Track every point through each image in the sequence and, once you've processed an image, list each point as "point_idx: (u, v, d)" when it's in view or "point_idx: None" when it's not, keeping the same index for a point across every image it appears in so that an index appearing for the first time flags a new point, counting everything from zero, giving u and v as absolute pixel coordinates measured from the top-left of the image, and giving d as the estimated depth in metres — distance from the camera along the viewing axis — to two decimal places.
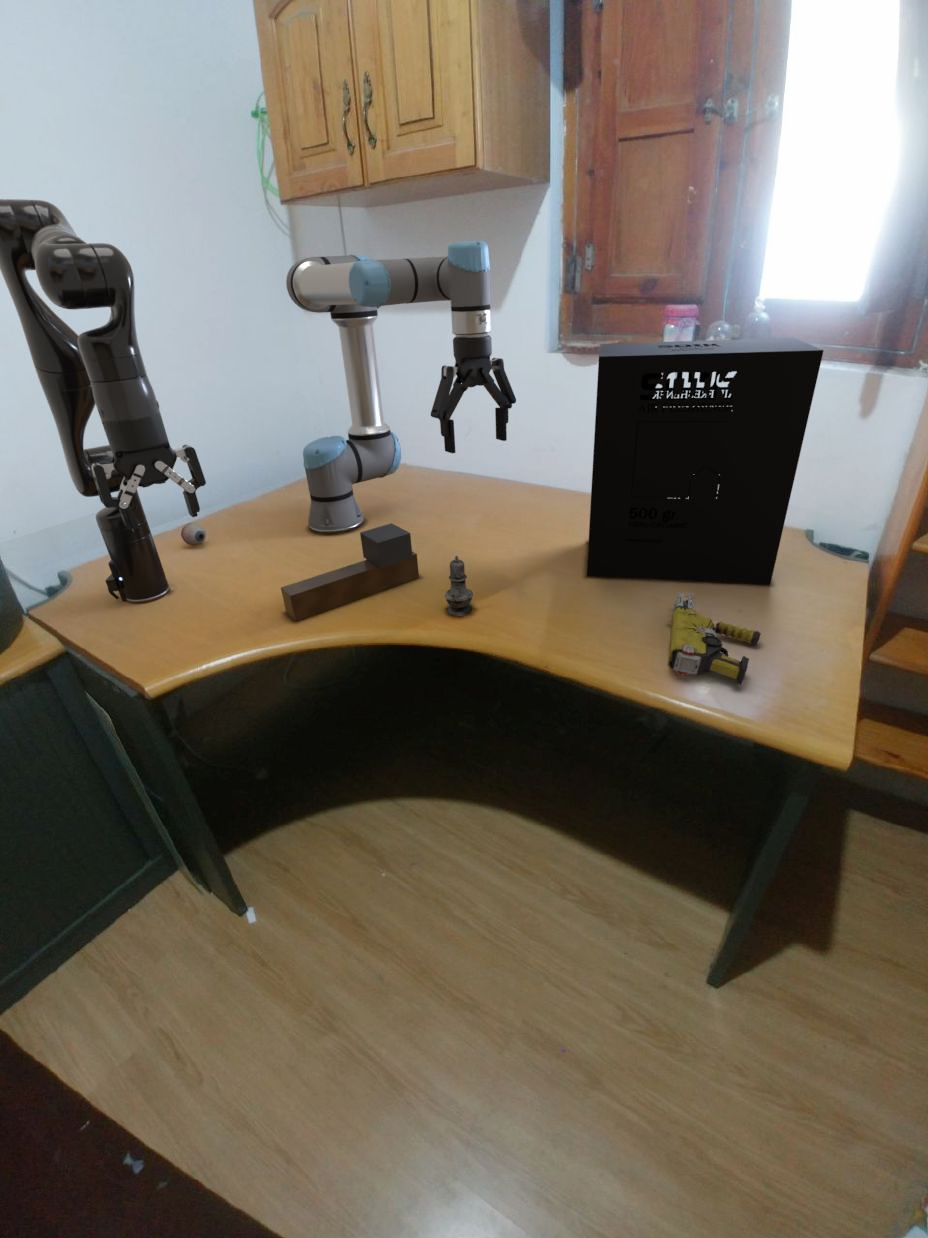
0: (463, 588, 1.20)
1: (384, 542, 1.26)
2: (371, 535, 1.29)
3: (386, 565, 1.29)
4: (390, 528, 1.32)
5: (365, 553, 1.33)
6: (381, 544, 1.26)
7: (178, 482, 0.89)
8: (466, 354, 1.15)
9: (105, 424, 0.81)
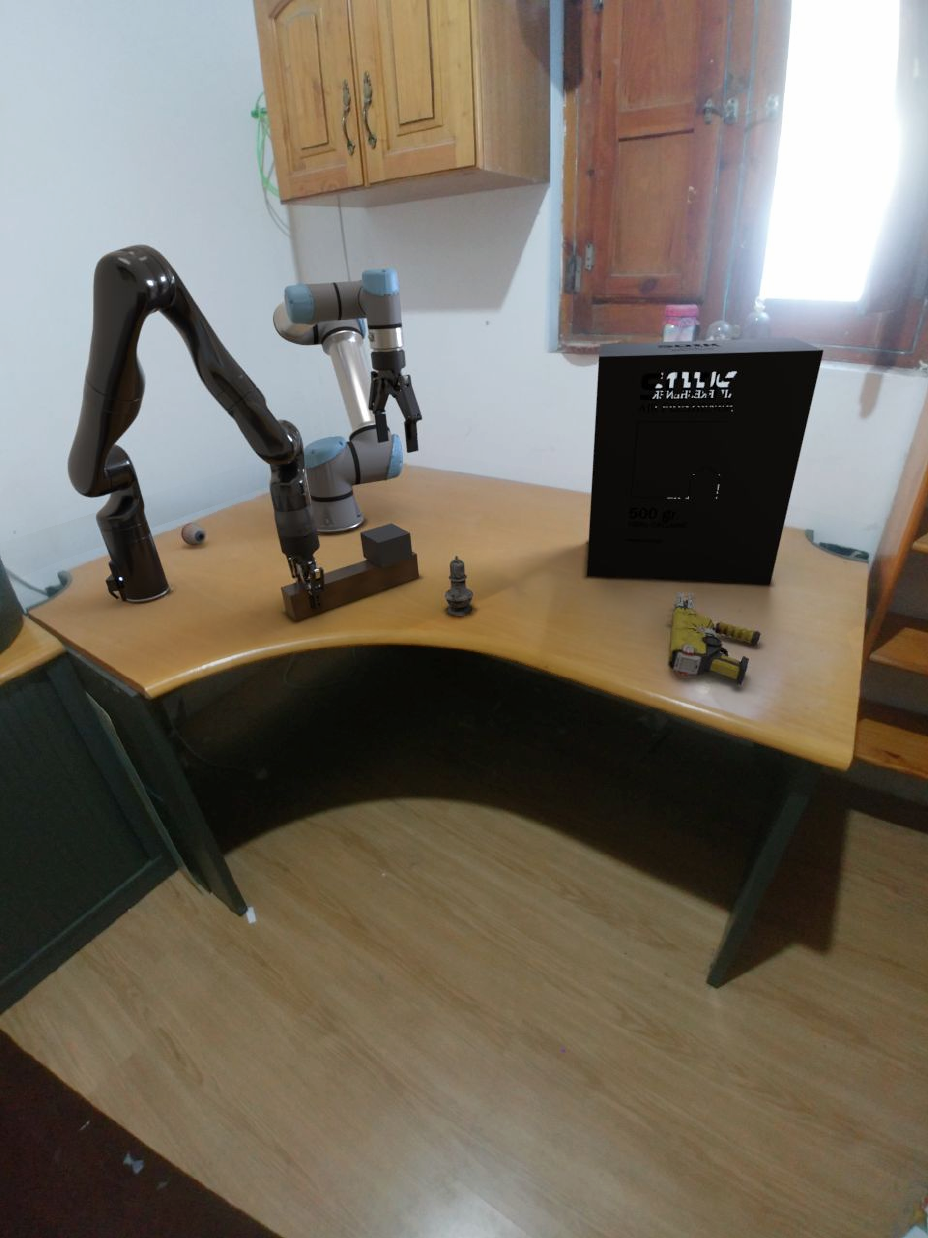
0: (463, 588, 1.20)
1: (384, 542, 1.26)
2: (371, 535, 1.29)
3: (386, 565, 1.29)
4: (390, 528, 1.32)
5: (365, 553, 1.33)
6: (381, 544, 1.26)
7: None
8: None
9: (310, 535, 1.16)
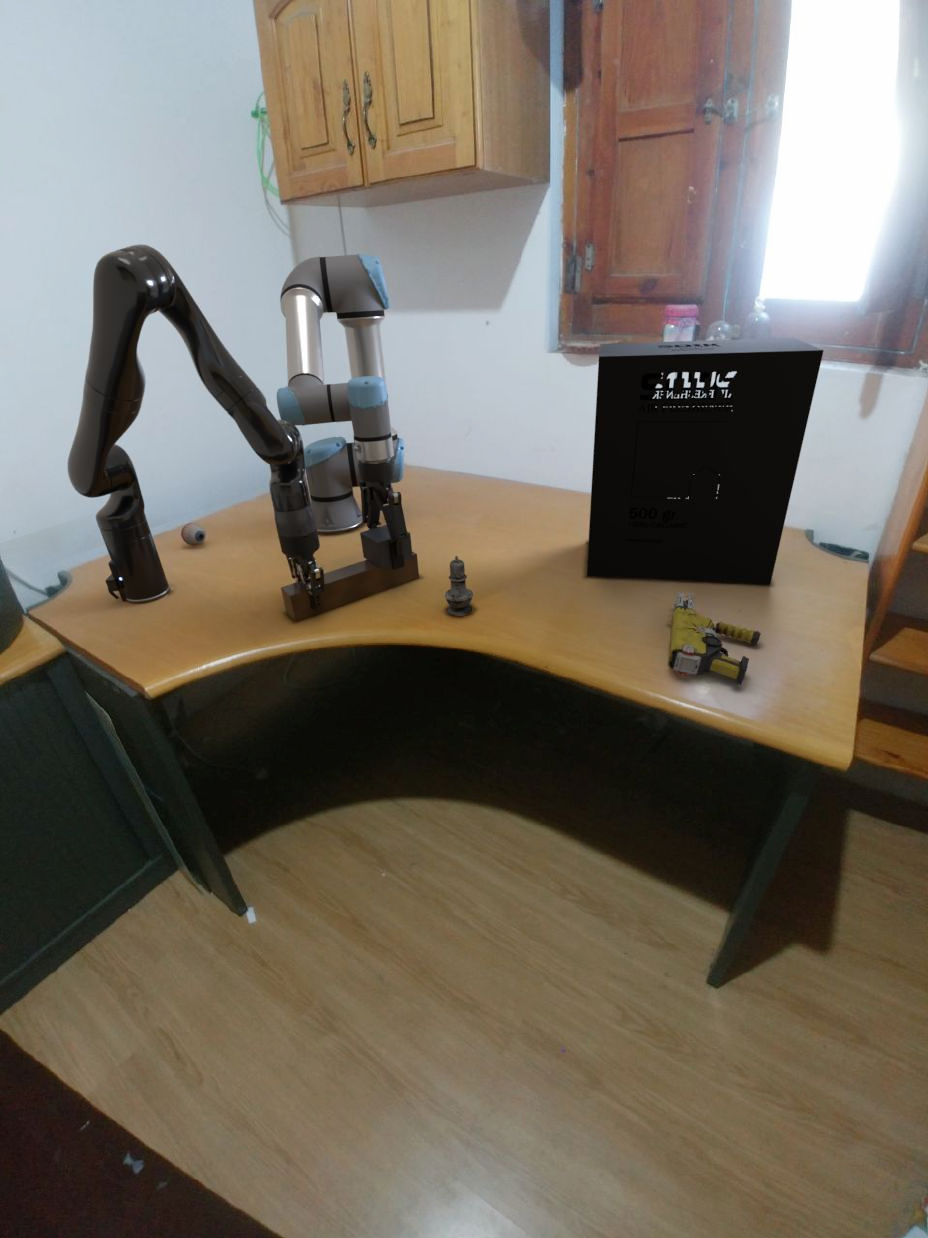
0: (463, 588, 1.20)
1: (384, 542, 1.26)
2: (371, 535, 1.29)
3: (386, 565, 1.29)
4: None
5: (365, 553, 1.33)
6: (381, 544, 1.26)
7: None
8: None
9: (310, 535, 1.16)
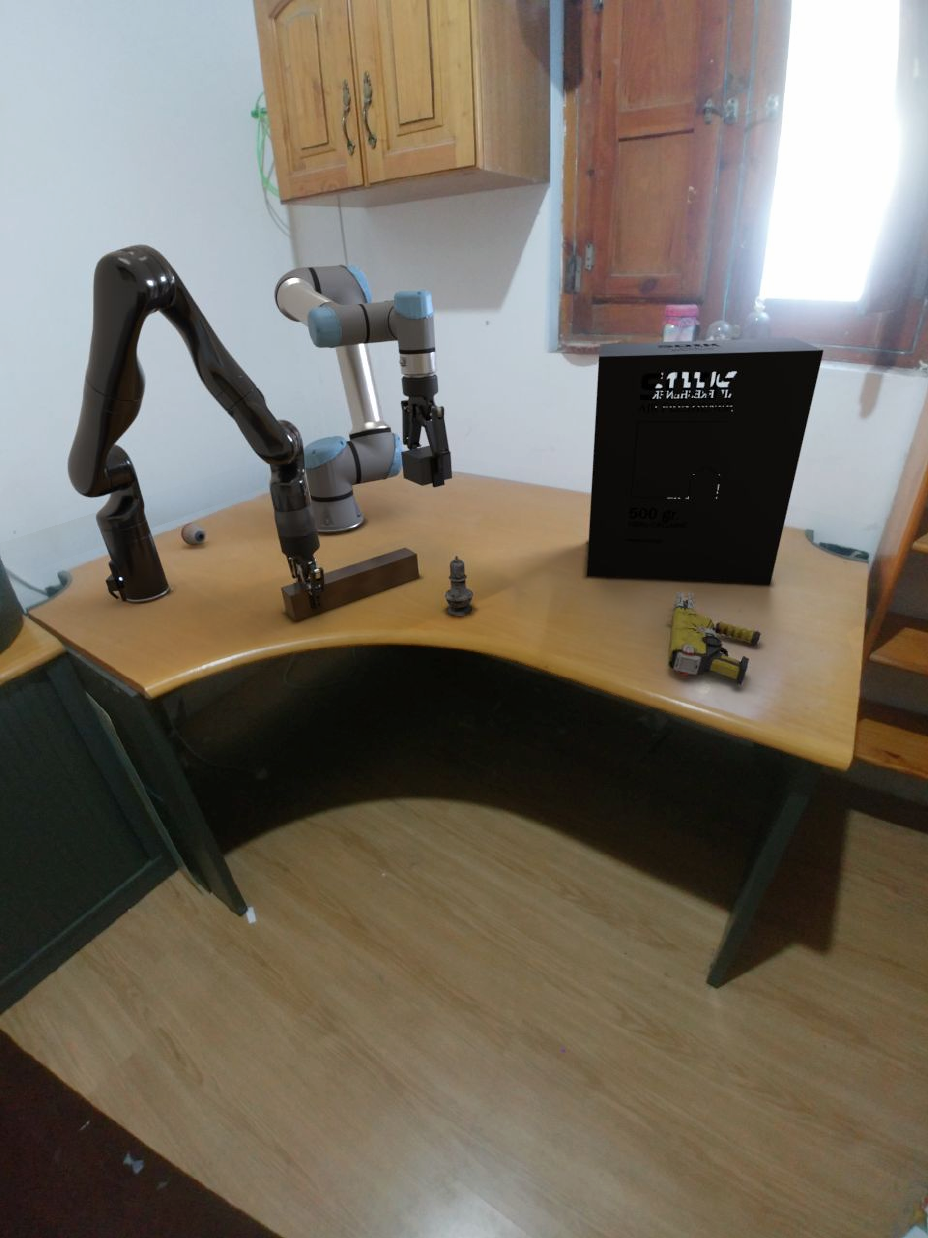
0: (463, 588, 1.20)
1: (425, 458, 1.29)
2: (412, 453, 1.32)
3: (427, 482, 1.32)
4: (430, 448, 1.35)
5: (405, 473, 1.36)
6: (423, 460, 1.29)
7: None
8: None
9: (310, 535, 1.16)
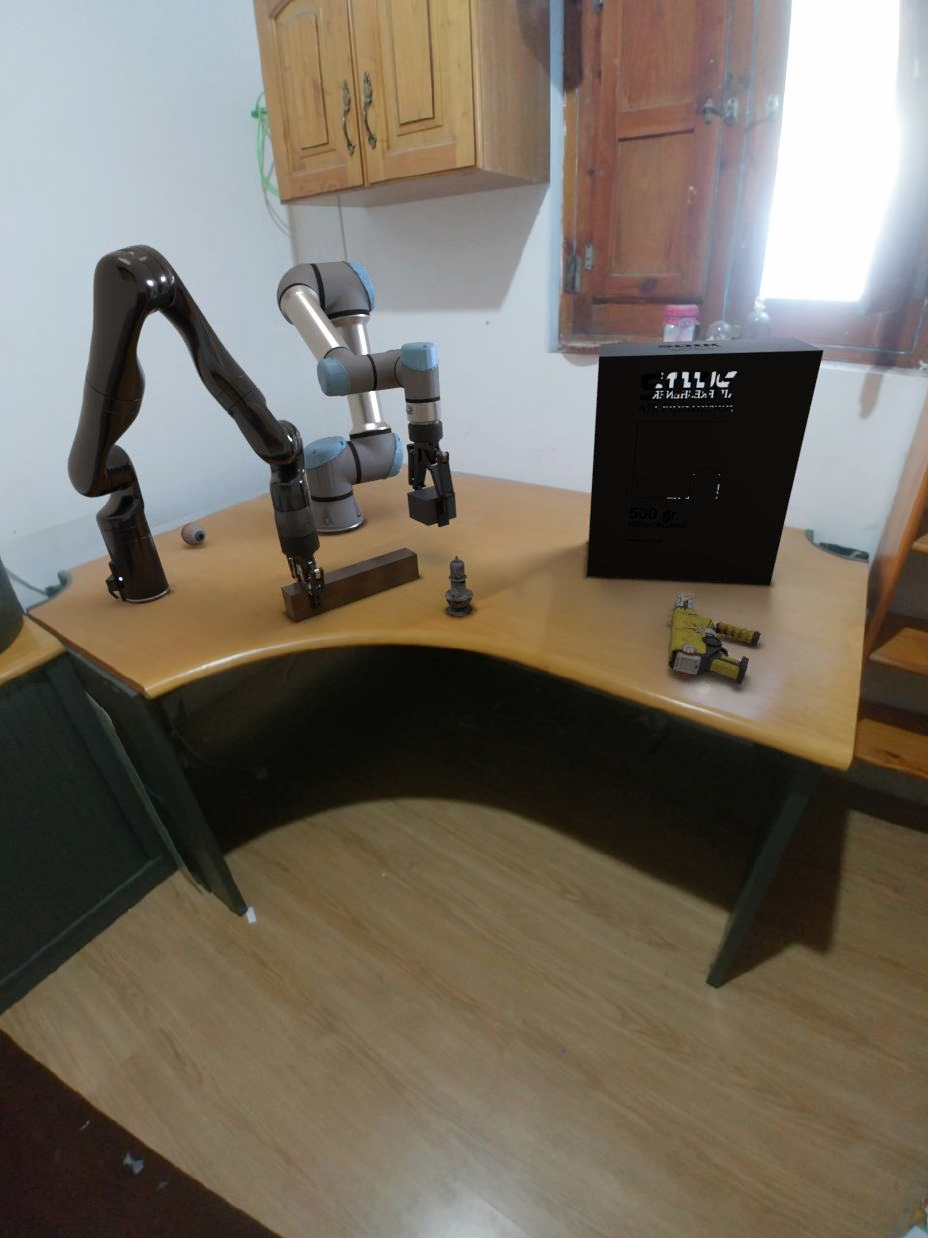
0: (463, 588, 1.20)
1: (431, 500, 1.34)
2: (418, 495, 1.37)
3: (432, 523, 1.37)
4: None
5: (411, 513, 1.40)
6: (428, 502, 1.34)
7: None
8: None
9: (310, 535, 1.16)
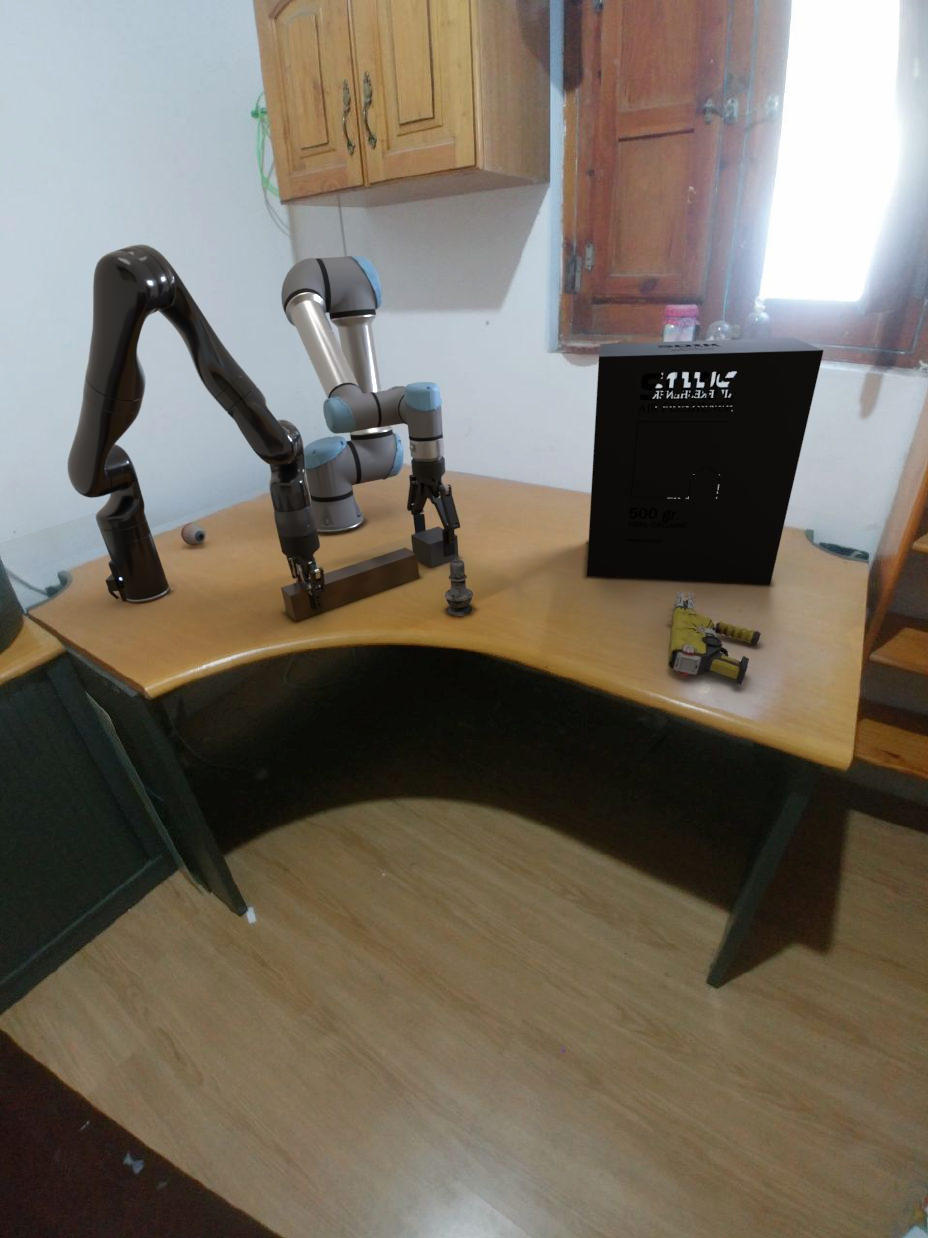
0: (463, 588, 1.20)
1: (434, 543, 1.40)
2: (421, 537, 1.42)
3: (436, 564, 1.42)
4: (438, 531, 1.46)
5: None
6: (432, 545, 1.39)
7: None
8: None
9: (310, 535, 1.16)
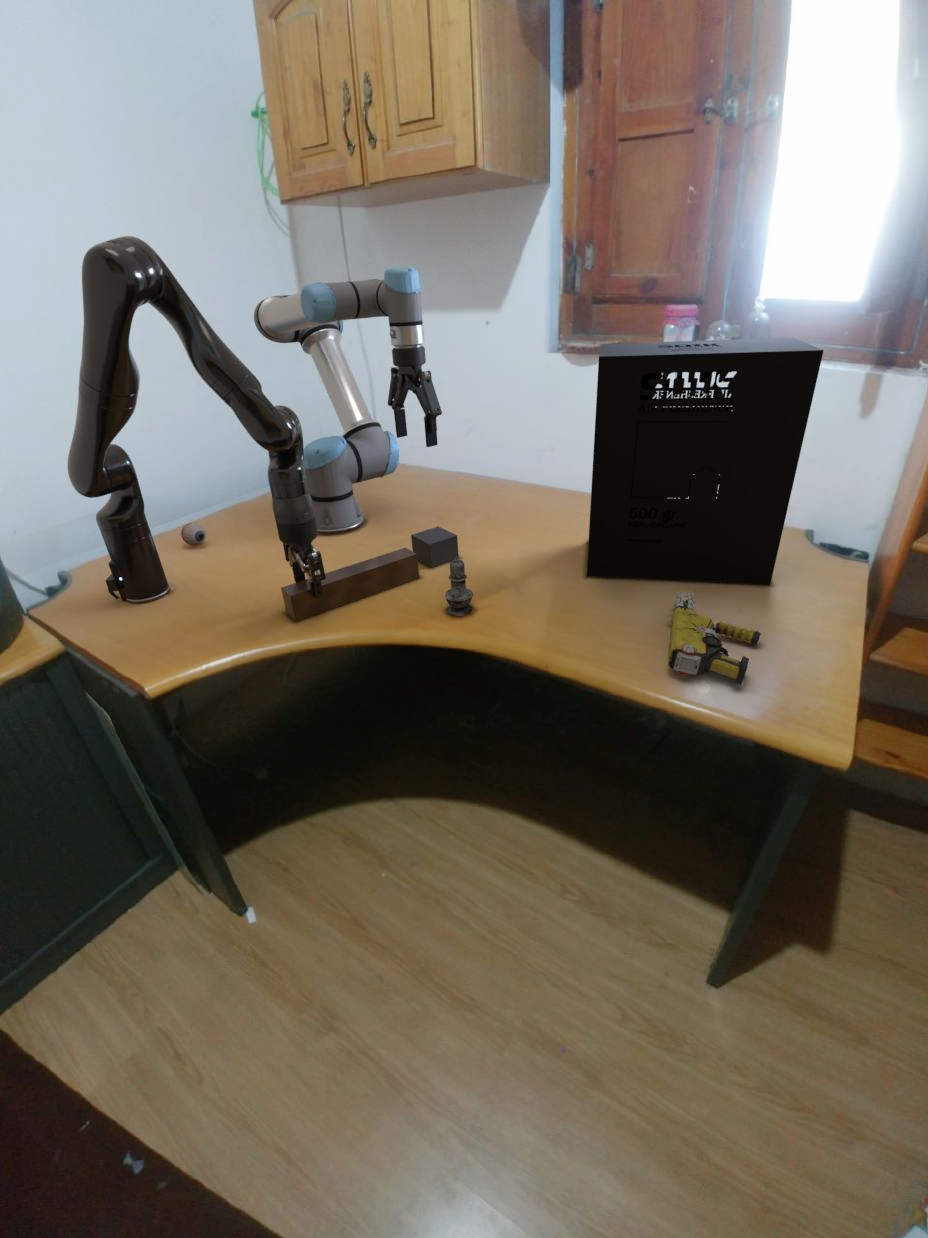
0: (463, 588, 1.20)
1: (434, 543, 1.40)
2: (421, 537, 1.42)
3: (436, 564, 1.42)
4: (438, 531, 1.46)
5: None
6: (432, 545, 1.39)
7: None
8: None
9: (308, 523, 1.15)
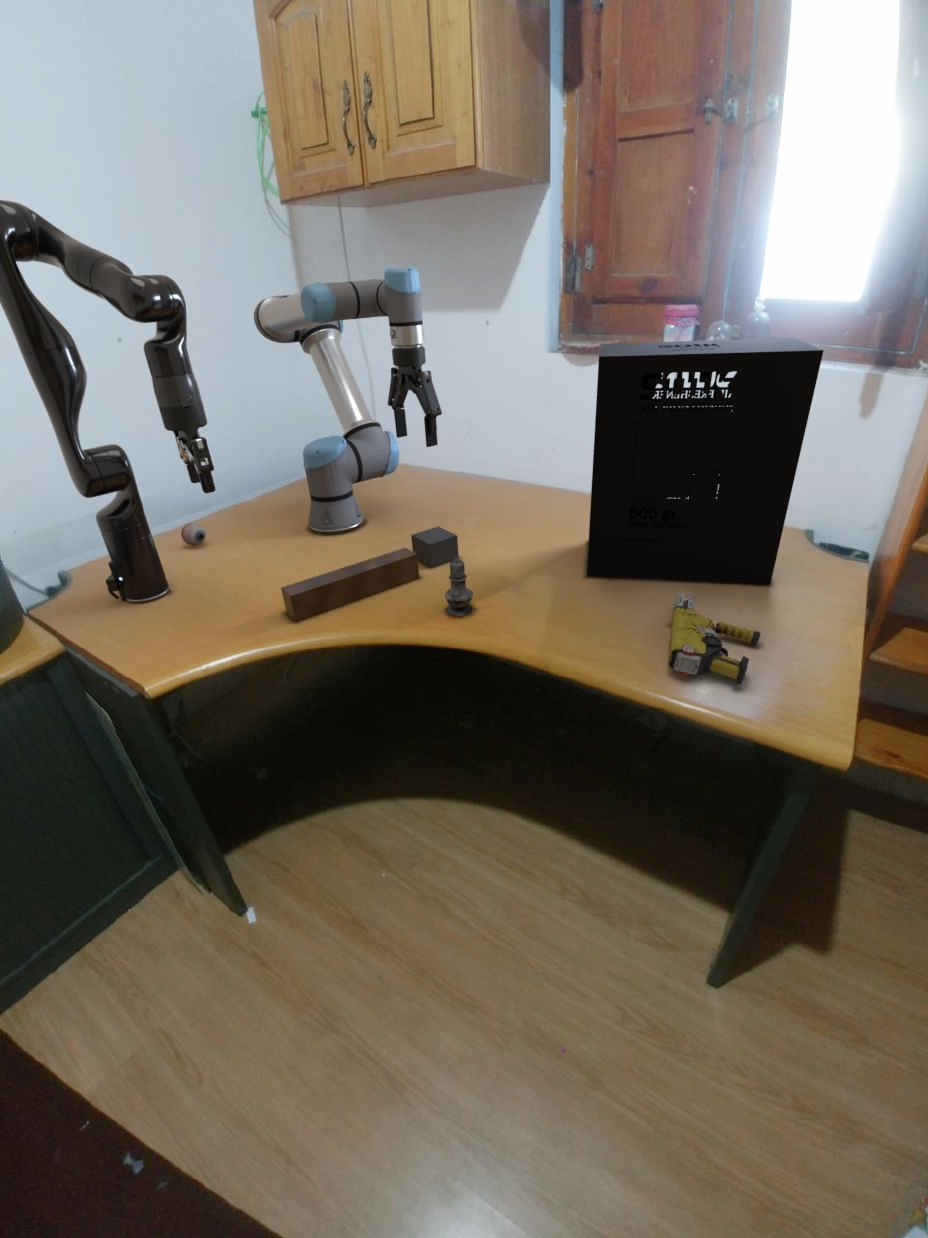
0: (463, 588, 1.20)
1: (434, 543, 1.40)
2: (421, 537, 1.42)
3: (436, 564, 1.42)
4: (438, 531, 1.46)
5: None
6: (432, 545, 1.39)
7: None
8: None
9: (192, 406, 1.08)
